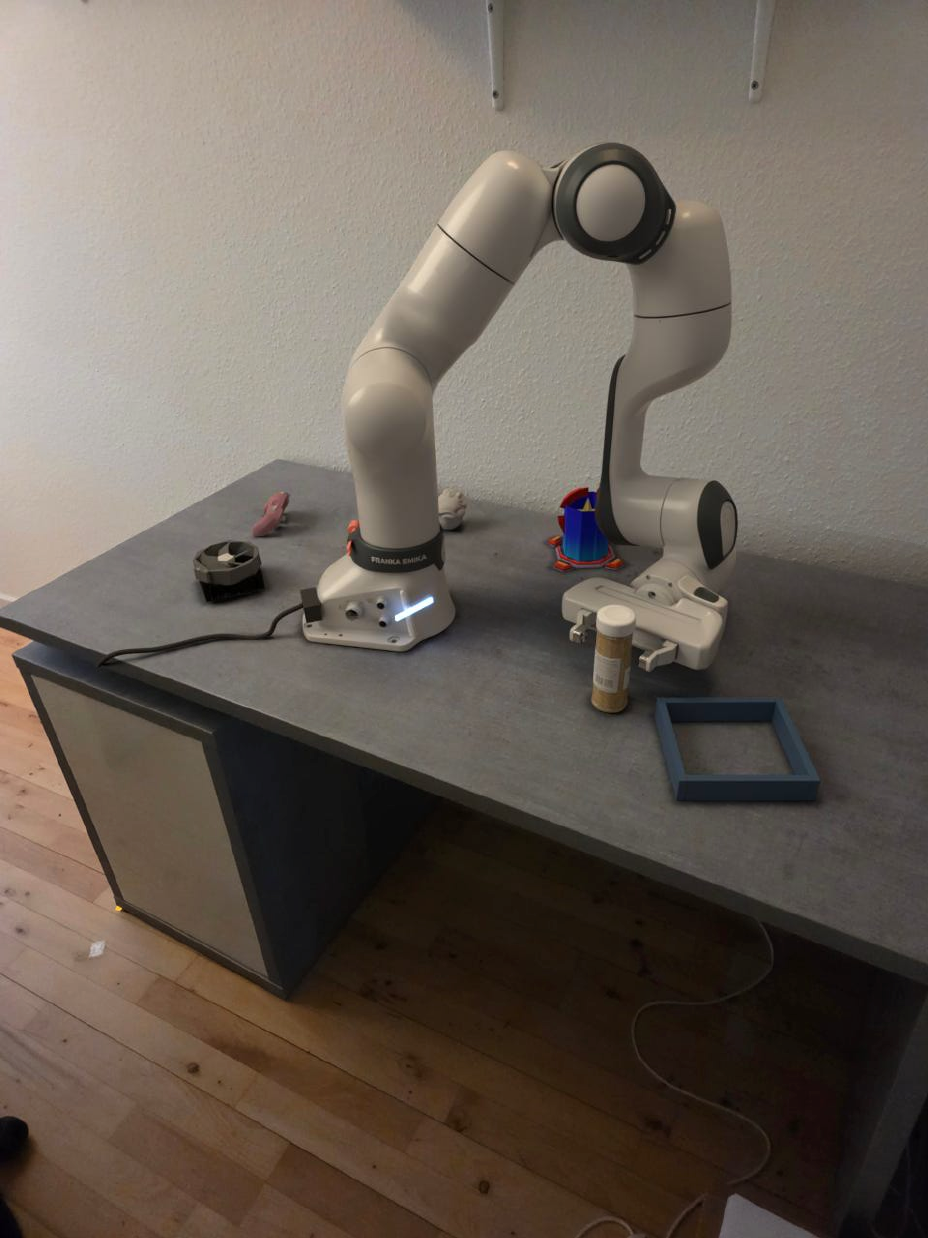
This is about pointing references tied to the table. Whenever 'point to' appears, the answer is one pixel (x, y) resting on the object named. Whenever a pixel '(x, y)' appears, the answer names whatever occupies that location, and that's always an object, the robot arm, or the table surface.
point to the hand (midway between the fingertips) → (608, 651)
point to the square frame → (736, 785)
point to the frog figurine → (451, 508)
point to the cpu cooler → (228, 570)
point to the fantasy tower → (582, 535)
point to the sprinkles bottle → (612, 657)
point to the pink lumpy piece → (272, 514)
